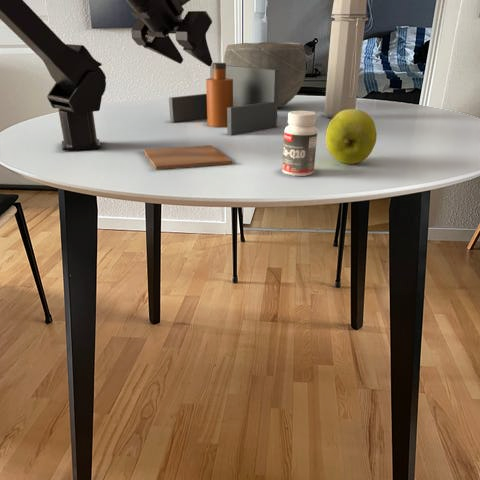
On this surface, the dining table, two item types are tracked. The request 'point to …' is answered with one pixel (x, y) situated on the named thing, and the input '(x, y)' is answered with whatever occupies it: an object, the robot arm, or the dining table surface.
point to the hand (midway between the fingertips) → (195, 63)
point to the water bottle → (344, 55)
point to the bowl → (273, 63)
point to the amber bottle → (219, 96)
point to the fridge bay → (237, 101)
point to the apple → (351, 136)
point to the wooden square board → (185, 157)
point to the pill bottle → (300, 143)
